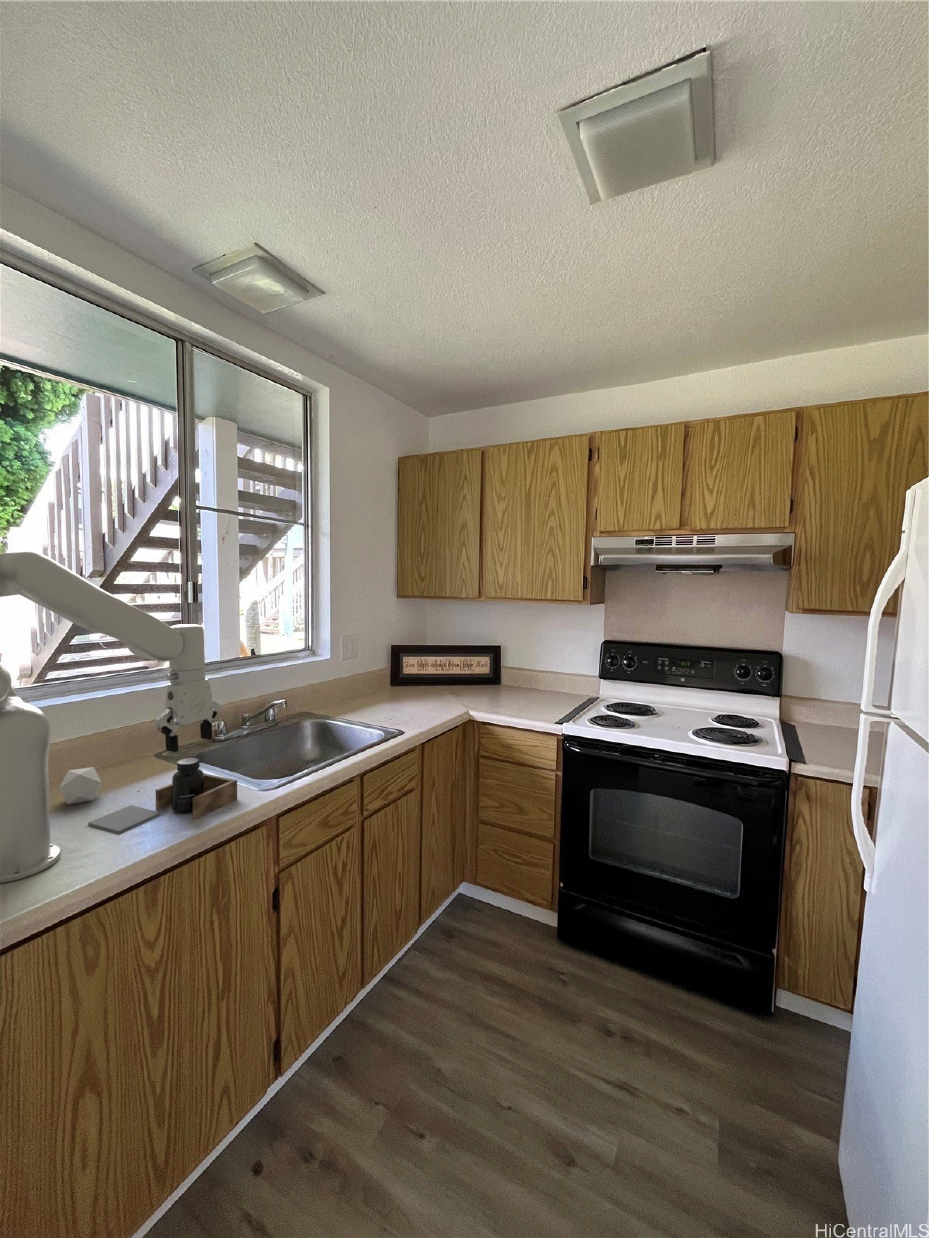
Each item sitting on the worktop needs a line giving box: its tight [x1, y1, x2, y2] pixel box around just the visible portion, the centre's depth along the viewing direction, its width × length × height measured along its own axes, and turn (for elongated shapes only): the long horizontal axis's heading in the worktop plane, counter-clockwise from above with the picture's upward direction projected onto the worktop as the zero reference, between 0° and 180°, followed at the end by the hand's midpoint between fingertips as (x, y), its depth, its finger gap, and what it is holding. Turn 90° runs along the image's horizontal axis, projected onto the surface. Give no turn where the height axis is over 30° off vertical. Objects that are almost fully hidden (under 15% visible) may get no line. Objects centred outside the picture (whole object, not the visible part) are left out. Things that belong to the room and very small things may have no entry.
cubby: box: [155, 773, 238, 820], centre depth 126 cm, size 12×13×5 cm
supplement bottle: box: [171, 757, 205, 815], centre depth 123 cm, size 7×7×12 cm
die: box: [58, 766, 103, 805], centre depth 126 cm, size 8×9×10 cm
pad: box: [87, 805, 162, 834], centre depth 117 cm, size 10×10×1 cm
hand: (189, 744), depth 123 cm, fingers open, 9 cm apart
